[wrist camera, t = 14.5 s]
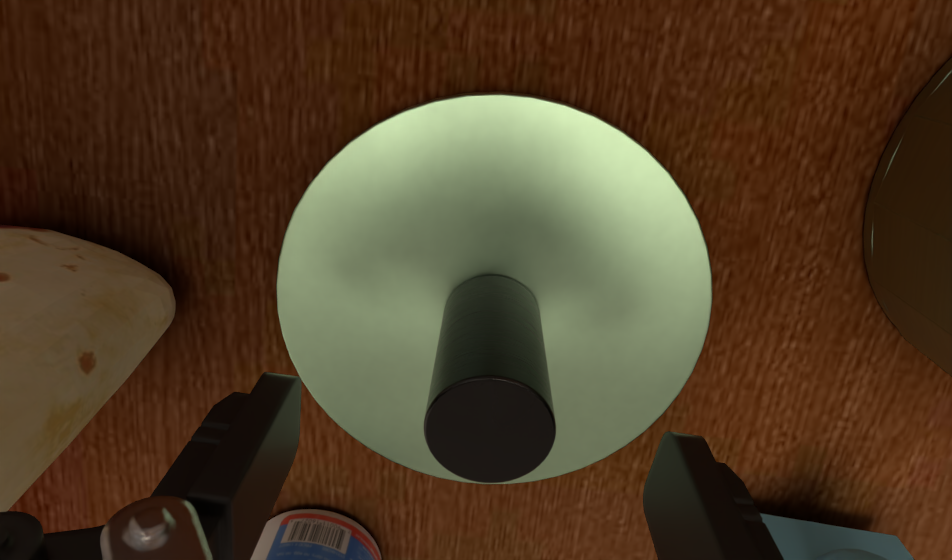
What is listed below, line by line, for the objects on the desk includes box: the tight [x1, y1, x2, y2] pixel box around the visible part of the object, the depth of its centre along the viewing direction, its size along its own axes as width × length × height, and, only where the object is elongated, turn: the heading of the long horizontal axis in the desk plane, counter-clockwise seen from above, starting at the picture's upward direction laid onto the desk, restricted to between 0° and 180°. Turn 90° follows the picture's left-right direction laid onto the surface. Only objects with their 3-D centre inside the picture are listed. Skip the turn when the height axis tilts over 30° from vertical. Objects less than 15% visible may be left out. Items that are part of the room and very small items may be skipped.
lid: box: [276, 91, 712, 484], centre depth 16 cm, size 13×13×7 cm
